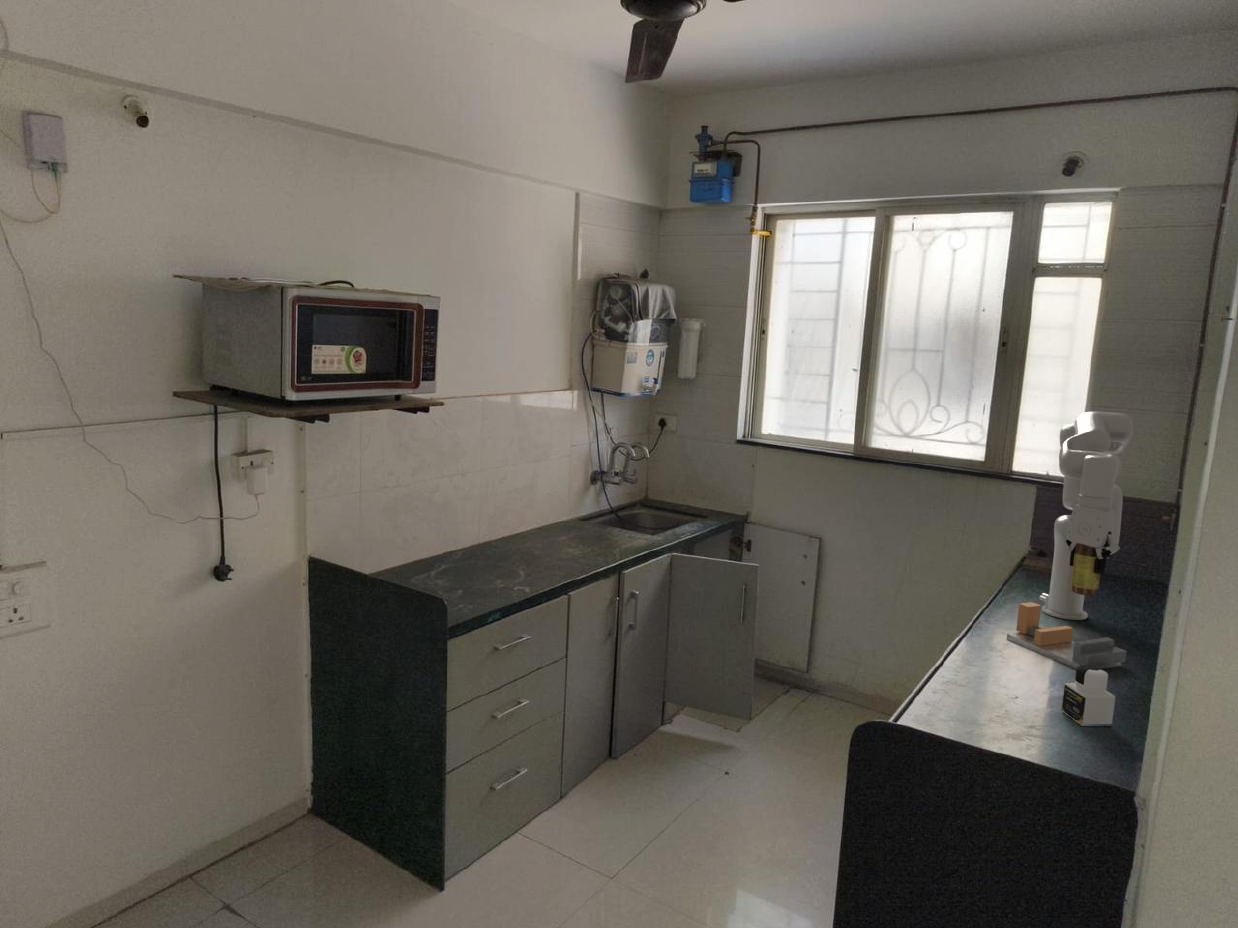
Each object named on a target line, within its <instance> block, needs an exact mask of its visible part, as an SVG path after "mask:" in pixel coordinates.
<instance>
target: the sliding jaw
mask: <svg viewBox="0 0 1238 928" xmlns="http://www.w3.org/2000/svg"><path fill="white" fill-rule="evenodd" d="M1018 605H1019V606H1018V610H1017V611H1018V612H1017V621H1016V630H1015V631H1016V632H1021V633H1023V634H1029V635H1032V636H1034V644H1036V645H1039V646H1043V645H1050V644H1058V643H1065V642H1072V641H1073V635H1074V628H1073V627H1071V626H1069V625H1061V626H1053V627H1046V628H1042V627H1039V626H1040V620H1041V618H1040V617H1041V610H1042V605H1040V604H1038V603H1035V602H1033V601H1032V602H1024V603H1019V604H1018Z"/></svg>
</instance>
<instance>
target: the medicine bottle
mask: <svg viewBox="0 0 1238 928" xmlns="http://www.w3.org/2000/svg"><path fill="white" fill-rule="evenodd" d="M1075 670H1076V671H1075V676H1074V682H1065V683H1064V687H1063V696H1062V702H1061V703H1062V704H1061V712H1062V711H1064V712H1065V713H1067V714H1068V715H1069V716H1071V717H1072V718H1074V719H1075V720H1077V721H1078V722H1080V723H1081V724H1112V725H1113V717H1114V711H1115V703H1116V696H1115V695H1114V694H1113V693H1110V691H1108V690H1107V686H1108V679H1109V673H1108V672H1107V671H1106V670H1105V669H1101V668H1099V667H1096V666H1092V665H1080V666H1078V667H1077V668H1076V669H1075Z"/></svg>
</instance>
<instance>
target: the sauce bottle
mask: <svg viewBox="0 0 1238 928" xmlns="http://www.w3.org/2000/svg"><path fill="white" fill-rule="evenodd" d="M1101 550H1102V549H1101ZM1096 558H1098V557H1097V553H1096V549H1095V548H1093V547H1089V546H1086V545H1083V544H1079V543H1076V551H1075V555H1074V565H1073V574H1072V583H1071V585H1072V588H1071V589H1072V591H1073V592H1075V593H1077V594H1081V595H1084V596H1090V597H1091V596H1096V595H1097V593H1098V590H1099V585H1100V578H1101V577H1100V576H1101V573H1098V574H1096V573H1094V572H1093V571H1094V564H1095V559H1096Z"/></svg>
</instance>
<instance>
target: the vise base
mask: <svg viewBox="0 0 1238 928" xmlns="http://www.w3.org/2000/svg"><path fill="white" fill-rule="evenodd" d="M1006 640H1008V641H1010V642H1013V643H1015V644H1017V645H1019V646H1022V647H1024V648H1026V649H1029V650H1031V649H1032V650H1031V651H1033V650H1034V651H1033V652H1035V651H1036V653H1037V654H1040V655H1042V656H1044V657H1045V656H1046V657H1047V658H1049V659H1052V660H1055V661H1057V662H1059V663H1061V664H1063V665H1066V666H1068V667H1070V668H1073V669H1075V670H1076V668H1077V667H1078V666H1080V665H1092V666H1096V667H1099V668H1101V669H1103V670H1105V669H1110V668H1117V667H1122V663H1126V661H1127V652H1128V650H1126V649H1122V648H1119V647H1117V646H1115V640H1114V639H1113V638H1111V637H1107V636H1106V637H1100V638H1095V639H1094V638H1093V639H1086V640H1085V639H1084V640H1079V641H1074V640H1072V642H1065V643H1058V644H1050V645H1043V646H1039V645H1036V644H1034V636H1032V635H1029V634H1023V633H1021V632H1019V631H1017V632H1012V633H1007V634H1006Z"/></svg>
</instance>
